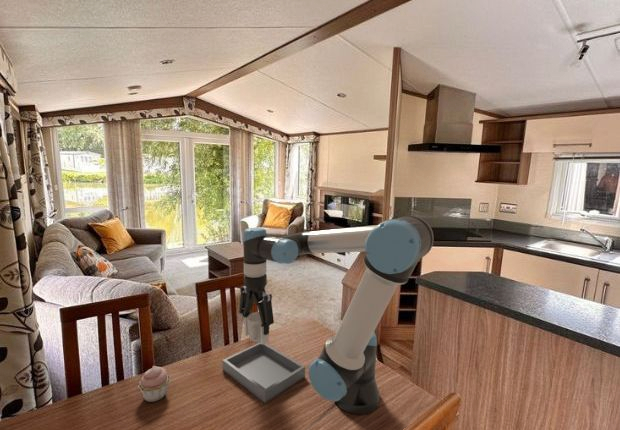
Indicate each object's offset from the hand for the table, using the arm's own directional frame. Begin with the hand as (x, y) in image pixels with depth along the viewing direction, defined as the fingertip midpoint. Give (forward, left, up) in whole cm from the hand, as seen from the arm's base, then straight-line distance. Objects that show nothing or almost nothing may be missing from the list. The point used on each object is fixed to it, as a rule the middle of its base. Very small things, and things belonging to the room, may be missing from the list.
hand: (256, 338), depth 108 cm
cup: (-1, 0, -1) cm, 1 cm away
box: (0, -3, -15) cm, 15 cm away
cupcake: (+16, +28, -15) cm, 35 cm away
